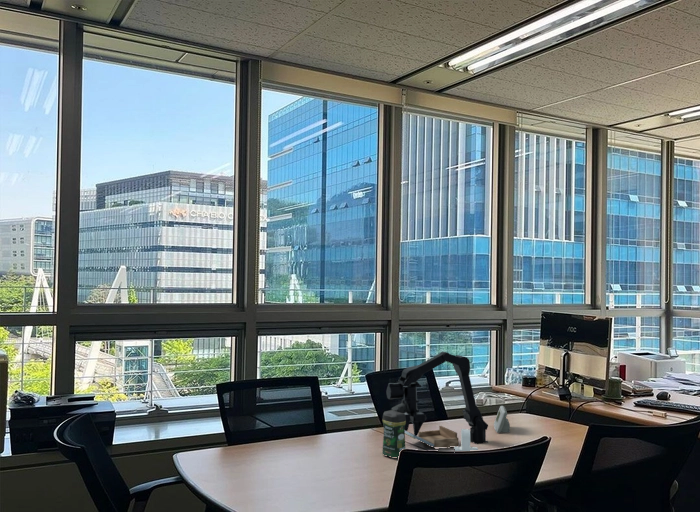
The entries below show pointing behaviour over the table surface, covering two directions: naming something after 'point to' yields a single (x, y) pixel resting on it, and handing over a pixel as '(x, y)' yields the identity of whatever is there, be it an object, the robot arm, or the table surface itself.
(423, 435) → the tray
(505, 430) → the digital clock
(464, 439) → the cable organizer
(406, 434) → the panel
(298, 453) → the table surface
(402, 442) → the coffee jar
